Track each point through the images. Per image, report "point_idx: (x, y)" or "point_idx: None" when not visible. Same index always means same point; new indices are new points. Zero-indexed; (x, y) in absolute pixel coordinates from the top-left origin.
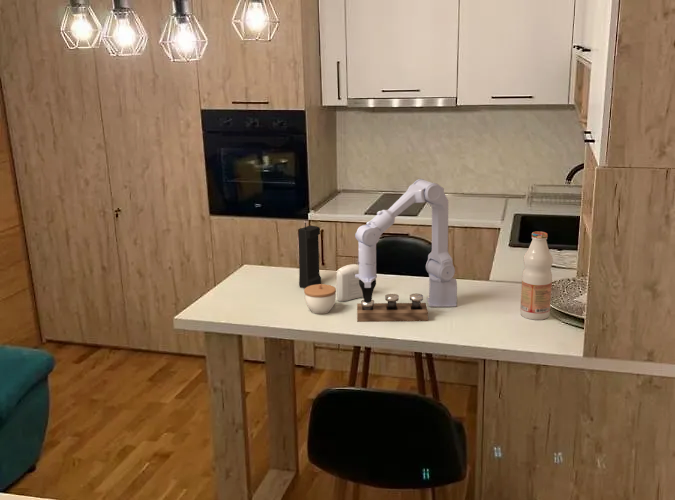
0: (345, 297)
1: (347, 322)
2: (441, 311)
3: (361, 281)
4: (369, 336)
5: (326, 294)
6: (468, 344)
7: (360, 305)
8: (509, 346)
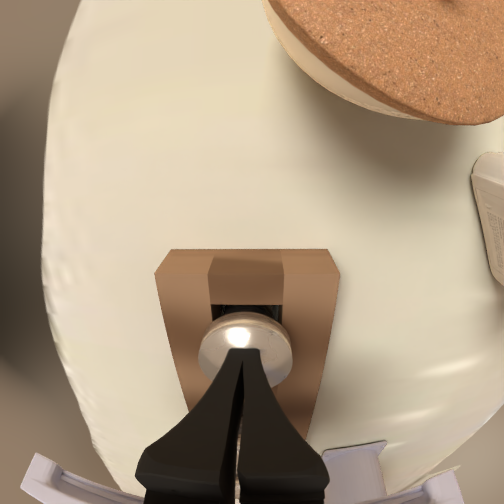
0: (484, 196)
1: (158, 196)
2: None
3: (214, 492)
4: (44, 293)
5: (275, 2)
6: (101, 451)
7: (298, 294)
8: (119, 475)
